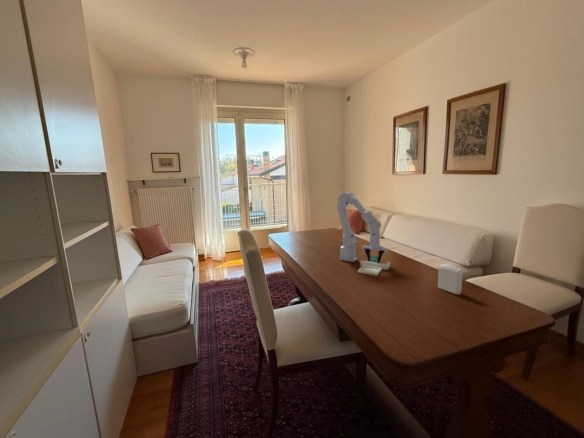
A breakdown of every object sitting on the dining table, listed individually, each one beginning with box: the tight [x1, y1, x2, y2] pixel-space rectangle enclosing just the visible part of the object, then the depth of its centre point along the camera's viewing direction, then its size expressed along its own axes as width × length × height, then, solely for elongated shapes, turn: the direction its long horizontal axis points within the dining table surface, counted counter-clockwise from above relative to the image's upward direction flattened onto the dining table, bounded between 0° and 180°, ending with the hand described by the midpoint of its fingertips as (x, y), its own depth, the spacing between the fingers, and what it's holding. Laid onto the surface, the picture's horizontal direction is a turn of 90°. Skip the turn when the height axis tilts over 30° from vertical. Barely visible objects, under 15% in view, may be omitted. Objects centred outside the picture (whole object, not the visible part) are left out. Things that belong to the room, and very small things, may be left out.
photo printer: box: [437, 263, 464, 295], centre depth 123 cm, size 10×4×12 cm, turn 26°
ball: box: [369, 254, 379, 263], centre depth 163 cm, size 6×6×6 cm
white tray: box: [357, 265, 383, 277], centre depth 150 cm, size 11×11×1 cm
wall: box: [359, 260, 391, 271], centre depth 159 cm, size 16×6×3 cm, turn 60°
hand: (374, 261), depth 163 cm, fingers closed on ball, 6 cm apart
